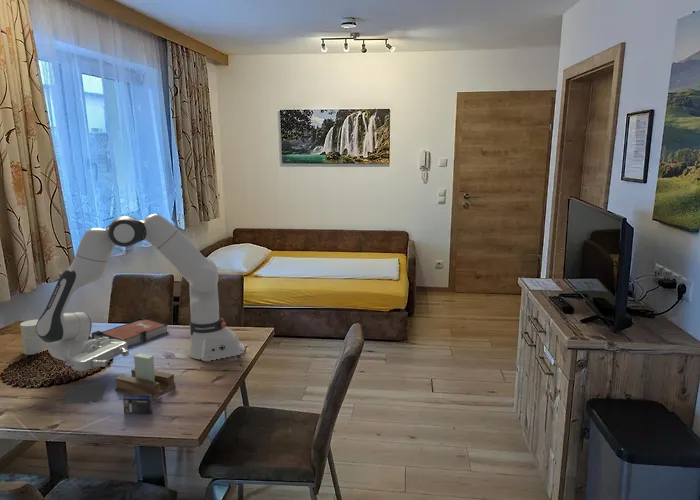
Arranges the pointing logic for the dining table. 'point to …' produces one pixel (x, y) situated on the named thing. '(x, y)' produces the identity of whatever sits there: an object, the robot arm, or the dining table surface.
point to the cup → (31, 338)
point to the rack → (145, 384)
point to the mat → (84, 394)
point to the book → (134, 331)
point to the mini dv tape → (137, 403)
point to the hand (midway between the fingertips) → (117, 358)
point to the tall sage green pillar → (144, 367)
